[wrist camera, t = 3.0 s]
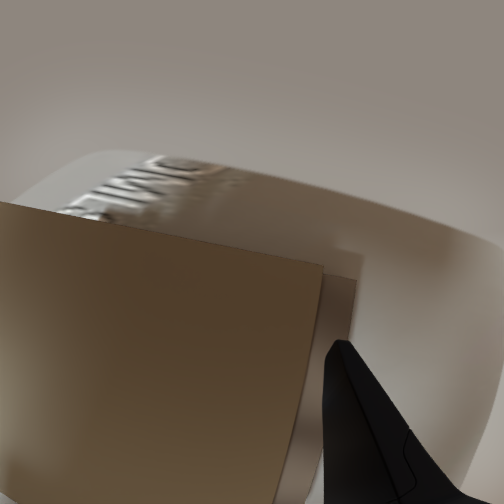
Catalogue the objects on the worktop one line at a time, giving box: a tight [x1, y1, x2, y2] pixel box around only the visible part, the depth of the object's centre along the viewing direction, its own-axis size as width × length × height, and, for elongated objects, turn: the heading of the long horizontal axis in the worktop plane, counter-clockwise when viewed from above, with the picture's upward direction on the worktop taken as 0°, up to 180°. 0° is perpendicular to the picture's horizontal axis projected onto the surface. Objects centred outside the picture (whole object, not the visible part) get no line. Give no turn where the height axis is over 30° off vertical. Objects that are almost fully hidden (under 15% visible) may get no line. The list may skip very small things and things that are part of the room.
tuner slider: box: [0, 202, 324, 504], centre depth 8 cm, size 6×12×12 cm, turn 79°
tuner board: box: [272, 274, 357, 504], centre depth 14 cm, size 15×15×2 cm
